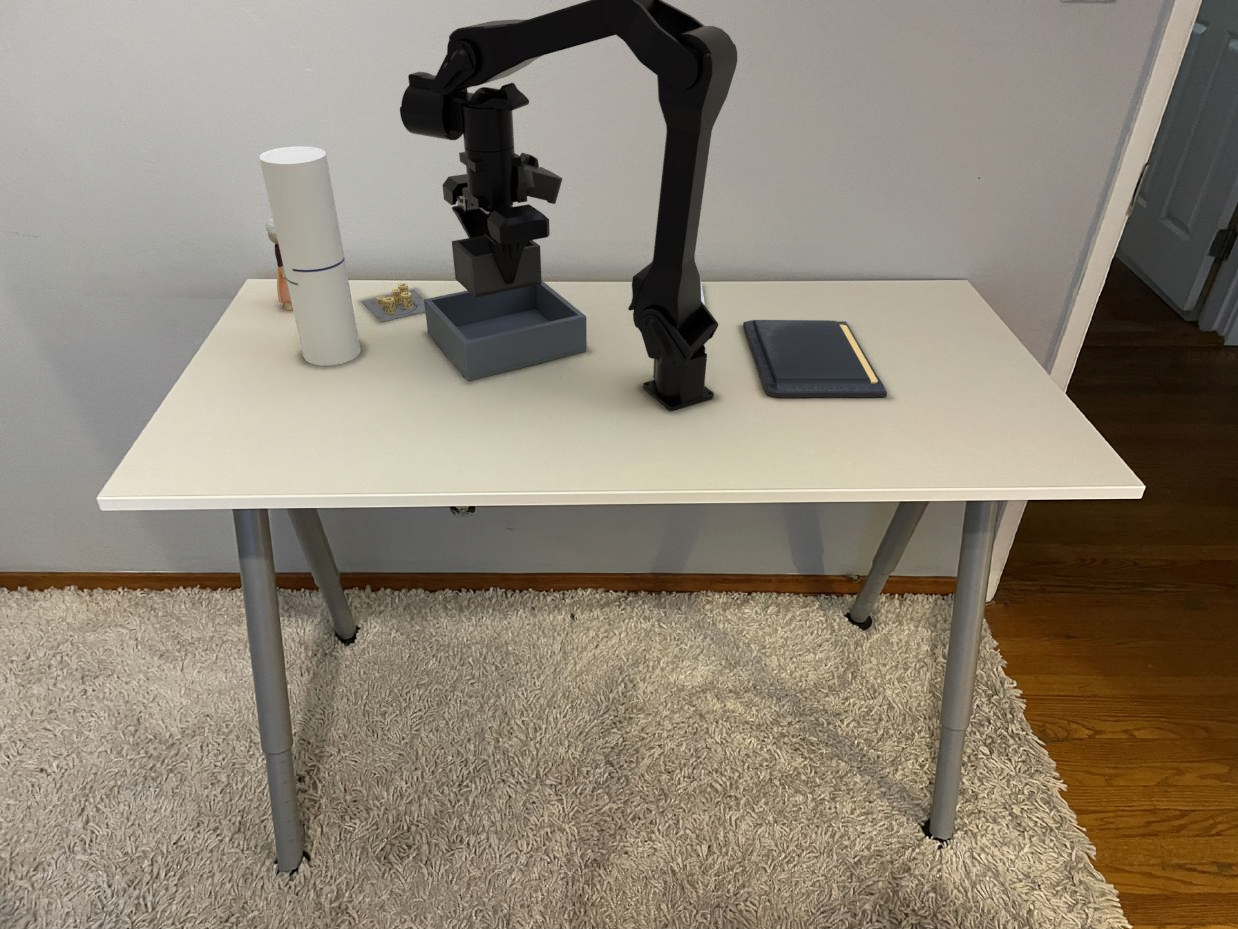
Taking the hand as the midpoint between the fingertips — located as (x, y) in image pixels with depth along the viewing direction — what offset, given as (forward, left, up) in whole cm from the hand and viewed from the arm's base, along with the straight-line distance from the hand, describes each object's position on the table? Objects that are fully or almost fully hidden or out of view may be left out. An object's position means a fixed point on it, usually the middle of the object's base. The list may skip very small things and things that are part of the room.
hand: (498, 273), depth 106 cm
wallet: (-22, -34, -10) cm, 42 cm away
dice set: (+19, +8, -10) cm, 23 cm away
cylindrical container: (+9, +20, -10) cm, 24 cm away
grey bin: (+1, -1, -10) cm, 10 cm away
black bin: (0, 0, -1) cm, 1 cm away
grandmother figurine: (+26, +21, -10) cm, 35 cm away
